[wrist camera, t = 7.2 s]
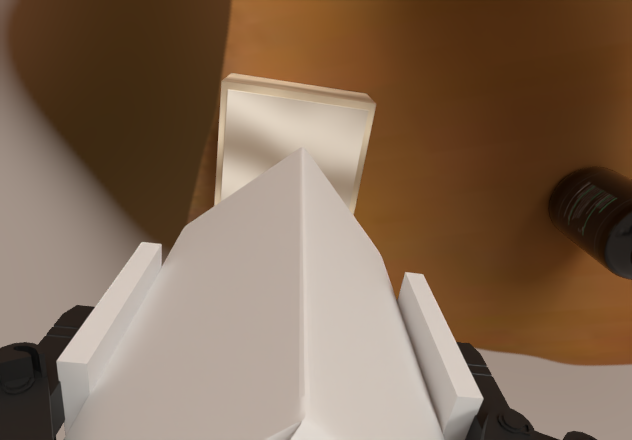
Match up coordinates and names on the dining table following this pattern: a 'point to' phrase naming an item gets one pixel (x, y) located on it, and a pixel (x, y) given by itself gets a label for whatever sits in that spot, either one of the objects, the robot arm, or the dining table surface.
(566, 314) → the dining table surface
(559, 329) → the dining table surface
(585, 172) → the supplement bottle
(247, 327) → the milk carton
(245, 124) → the pedestal
